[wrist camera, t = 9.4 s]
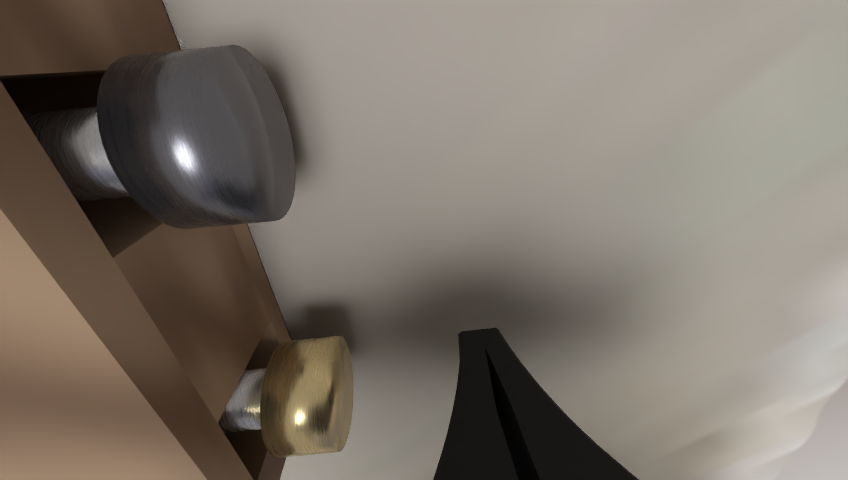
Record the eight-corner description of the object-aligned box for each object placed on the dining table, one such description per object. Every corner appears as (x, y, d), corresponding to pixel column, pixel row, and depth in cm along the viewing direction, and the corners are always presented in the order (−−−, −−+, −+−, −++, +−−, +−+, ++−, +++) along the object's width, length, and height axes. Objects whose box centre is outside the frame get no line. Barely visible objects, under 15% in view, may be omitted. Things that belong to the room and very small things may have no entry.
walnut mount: (307, 384, 15) (259, 548, 10) (126, 401, 15) (-12, 574, 10) (159, -5, 8) (-240, -103, 3) (-179, 26, 8) (-1129, -20, 3)
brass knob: (356, 380, 13) (343, 475, 10) (134, 402, 13) (54, 503, 10) (339, 314, 12) (316, 405, 9) (83, 339, 11) (-29, 438, 8)
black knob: (305, 188, 9) (258, 251, 6) (-13, 218, 9) (-211, 296, 6) (267, 47, 8) (178, 42, 5) (-121, 83, 8) (-459, 101, 5)
